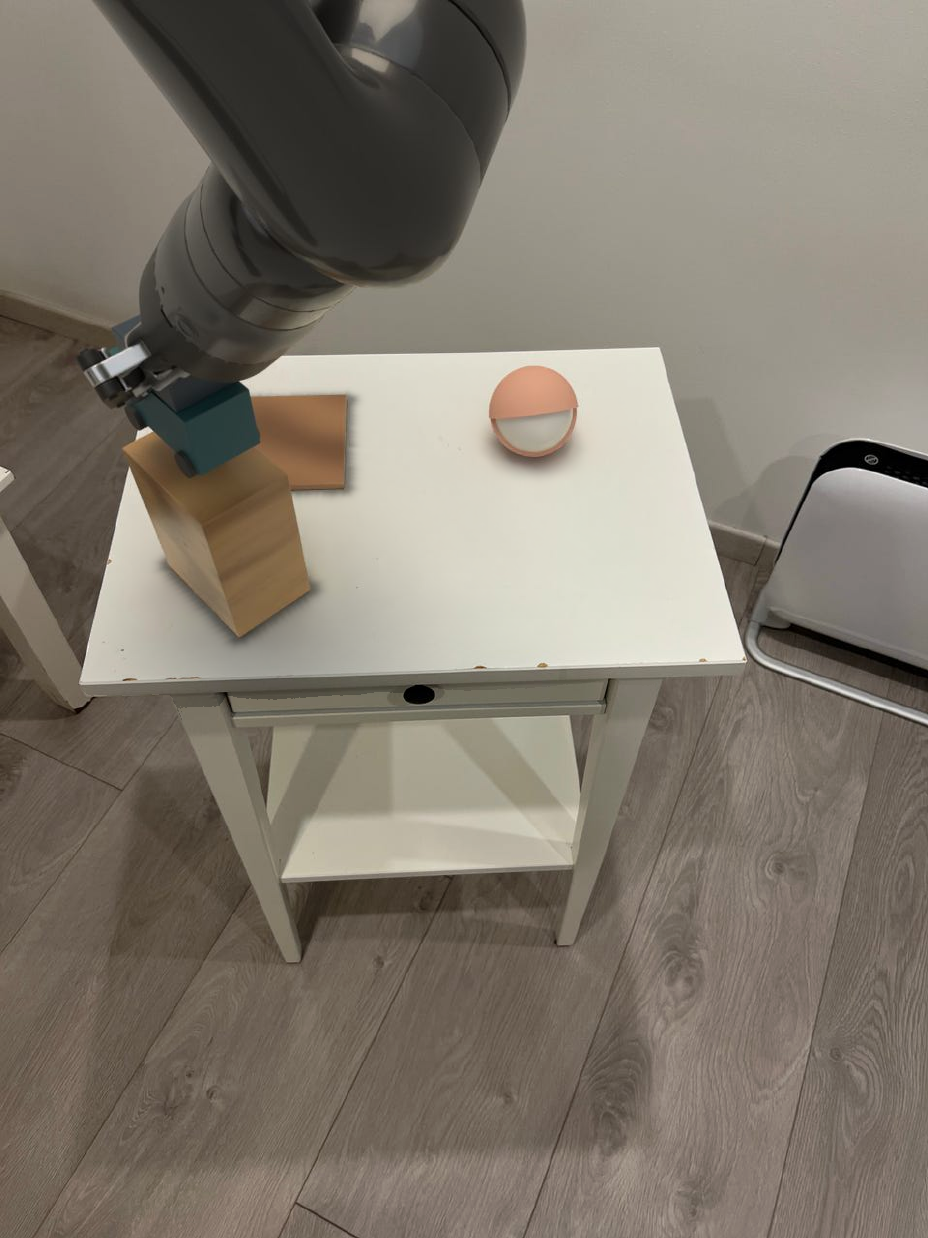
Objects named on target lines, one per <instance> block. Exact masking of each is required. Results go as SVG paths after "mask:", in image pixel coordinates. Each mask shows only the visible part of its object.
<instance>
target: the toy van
mask: <svg viewBox="0 0 928 1238" xmlns="http://www.w3.org/2000/svg"><path fill="white" fill-rule="evenodd" d="M140 322H141V316H140V314H138V315H135V316H133V317H131V318H129V319H126V320H124V321H122V322H120V323H118V324H116V325H113V326H112V327H110V329H111V332H112V335H113V338H114V342H115V343H116V346H115V347H113V348H111V349H108V351H109V353H110V354H111V356H114V355H115V354H117V353H119V352H121V351H122V350H124V349H125V347H126V345H125V342H124V337H125V335H126V334H127V333H128V332H129V331H131V330H132V329H133V328H134V327H135V326H136V325H137V324H138V323H140ZM251 397H252V396H251V392H250V389H249V388H248V387H247V386H246V385H245V384H243V383H242V382H241V381H238V382H230V383H220V382H212V381H207V380H203V379H200V378H198V377H195V376H193V375H191V376H189V377H186V378H183V379H182V380H180V381H179V382H178V383H176V384H174V385H172V386H170V387H168V388H165V389H163V390H161V391H156V390H154V389H153V390H152V391H151V392H150V394H149V395H147V396H146V397H145V399H144V400H142V401H140V402H138V403H136V404H133V403H132V402H131V401H130V399H129V400H128V401H127V402H125V405H124V406H123V409H124V412H125V415H126V416H127V419H128V421H129V422H130V423H131V425H132V426H133V427H134V428H135V430H137V431H139V432H140V431H142V430H144V429H146V428H149V429H150V430H151V431H152V432H153V431H154V432H155V433H156V434H157V435H158V436H159V437H160V438H161V439H162V440H163V441H164V442H165V443H166V444H167V445H169V446H170V447H171V448H172V449H173V450H174V451H175V452H176V453H175V454H174V458H175V461H176V463H177V465H178V467H179V468H180V470H181V471H182V472H183V474H184V475H185V476H186V477H188V478H192V477H194V476H196V475H197V474H199V475H201V476H202V475H204V474H206V473H208V472H209V471H211V470H213V469H215V468H217V467H218V466H220V465H222V464H224V463H226V462H227V461H229V460H231V459H233V458H234V457H236V456H238V455H240V454H242V453H243V452H245V451H247V450H249V449H251V448H252V447H254V446H256V445H258V444H259V443H260V433H259V430H258V428H257V424H256V419H255V415H254V410H253V406H252V401H251Z"/></svg>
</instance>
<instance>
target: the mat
mask: <svg viewBox="0 0 928 1238" xmlns="http://www.w3.org/2000/svg"><path fill="white" fill-rule="evenodd" d="M251 401H252V406H253V410H254V415H255V419H256V424H257V428H258V430H259V433H260V443H259V444H258V445H256V446H255V447H256V448H257V449H259V450H260V451H261V452H262V453H263V454H264V455H265V456H267V457H268V458H269V459H270V460H271V461H272V462H274V463H275V464H276V465H277V466H278V467H279V468H281V469H282V470H283V471H284V472H285V473H286V474H287V475H288V479H289V484H290V489H291V491H297V490H298V491H299V490H300V491H301V490H335V489H345V474H346V442H347V441H346V440H347V439H346V438H347V408H348V407H347V406H348V404H347V403H348V397H347V394H312V395H311V394H310V395H309V394H307V395H270V396H269V395H264V396H263V395H261V396H251Z"/></svg>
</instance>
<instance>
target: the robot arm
mask: <svg viewBox="0 0 928 1238" xmlns="http://www.w3.org/2000/svg"><path fill="white" fill-rule="evenodd" d="M90 1H91V2H92V3H93V4H94V6H95V7H96V9H97V10H98V11H99V12H100V14H101V15H102V16H103V17H104V18H105V20H106V21H107V22H108V24H109V25H110V27H111V28H112V29H113V30H114V32H115V33H116V34H117V36H118V37H119V39H120V40H121V41H122V43H123V44H124V46H125V47H126V48H127V49H128V51H129V52H130V54H131V55H132V56H133V57H134V59H135V61H136V62H137V63H138V65H139V66H140V67H141V68H142V70H143V71H144V72H145V73H146V75H147V76H148V77H149V79H150V80H151V81H152V83H153V84H154V85H155V87H156V88H157V90H158V91H159V92H160V93H161V94H162V96H163V97H164V98H165V100H166V101H167V103H169V105H170V107H172V109H173V110H174V111H175V113H176V114H177V116H178V117H179V118H180V120H181V121H182V123H183V124H184V125H185V127H186V128H187V129H188V130H189V132H190V133H191V134H192V136H193V137H194V139H195V140H196V141H197V143H198V145H199V146H200V147H201V149H202V150H203V152H204V153H205V154H206V156H207V157H208V158H209V160H210V163H209V166H208V167H207V169H206V170H205V172H204V174H203V176H202V178H201V179H200V181H199V183H198V184H197V186H196V188H195V189H194V190H193V191H192V192H190V194H189V195H187V197H185V198H184V200H183V201H182V202H181V203H180V205H179V206H178V207H177V209H176V210H175V212H174V213H173V216H172V217H171V219H170V221H169V223H168V224H167V225H166V228H165V230H164V232H163V234H162V235H161V236H160V238H159V241H158V243H156V247H155V248H154V250H153V251H152V253H151V256H150V257H149V259H148V261H147V263H146V264H145V266H144V269H143V271H142V273H141V278H140V282H139V289H138V302H139V304H138V306H139V315H140V316H141V322H140V323H138V324H137V325H136V326H135V327H134V328H133V329H132V330H131V331H129V332H128V333H127V334H126V335H125V337H124V342H125V345H126V347H125V349H124V350H122V351H121V352H119V353H117V354H115V355H114V356H111V354H110V353H109V349H108V348H107V347H101V348H99V349H97V348H96V347H94V348H90V349H89V348H85V349H83V350H81V351H80V352H79V355H76V357H75V358H74V360H75V362H76V363H77V365H78V366H79V368H80V370H81V371H82V372H83V374H84V376H85V378H86V379H87V380H88V382H89V384H90V385H91V387H92V389H94V391H95V393H96V394H97V396H98V397H99V399H100V400H101V402H102V403H103V404H104V405H106V406H107V407H108V408H109V409H110V410H113V409H116V408H117V409H120V408H122V407H125V406H126V404H125V402H127V401H128V400H129V399H130V401H131V402H132V403H133V404H136V403H138V402H140V401H142V400H144V399H145V397H146V396H147V395H149V394H150V392H151V391H152V390H153V389H154V390H156V391H161V390H163V389H165V388H168V387H170V386H172V385H174V384H176V383H178V382H179V381H180V380H182V379H183V378H186V377H189V376H191V375H193V376H195V377H198V378H200V379H203V380H207V381H212V382H220V383H230V382H238V381H240V382H241V381H245V380H248V379H251V378H253V377H255V376H257V375H259V374H260V373H262V372H263V371H265V370H266V369H267V368H269V367H270V366H271V365H272V364H274V363H275V362H276V361H277V360H279V359H280V358H281V357H283V356H284V355H285V354H286V353H288V352H289V351H290V350H292V349H293V348H294V347H295V346H296V345H298V344H299V343H300V342H302V341H303V340H304V339H305V338H307V336H308V335H309V334H310V333H312V332H313V330H314V329H315V328H316V327H317V326H318V324H319V323H320V322H321V321H322V319H323V318H324V316H325V315H326V314H327V313H328V312H329V311H330V310H332V309H333V308H334V307H336V306H337V305H338V304H340V303H341V302H342V301H343V300H344V299H345V298H346V297H348V296H349V295H351V293H353V292H354V291H355V290H356V289H357V288H363V289H368V290H375V291H376V290H377V291H379V290H380V291H383V290H384V291H385V290H397V289H398V290H399V289H404V288H408V287H411V286H413V285H417V284H419V283H421V282H423V281H425V280H427V279H428V278H430V277H431V276H433V274H435V273H436V272H437V271H439V270H440V268H441V267H442V266H443V265H444V264H445V263H446V261H447V260H448V259H449V257H450V255H451V254H452V253H453V251H454V249H455V248H456V246H457V244H458V243H459V241H460V239H461V236H462V234H463V232H464V229H465V228H466V225H467V222H468V220H469V218H470V216H471V214H472V211H473V207H474V205H475V202H476V200H477V198H478V194H479V192H480V188H481V186H482V183H483V181H484V178H485V176H486V174H487V171H488V168H489V166H490V164H491V160H492V159H493V156H494V154H495V151H496V149H497V146H498V143H499V141H500V138H501V135H502V133H503V131H504V127H505V125H506V123H507V121H508V118H509V116H510V113H511V111H512V108H513V105H514V103H515V99H516V97H517V94H518V91H519V89H520V86H521V82H522V78H523V73H524V68H525V63H526V57H527V45H528V44H527V43H528V41H527V19H526V12H525V5H524V1H523V0H90Z"/></svg>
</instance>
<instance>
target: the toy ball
mask: <svg viewBox="0 0 928 1238" xmlns="http://www.w3.org/2000/svg"><path fill="white" fill-rule="evenodd" d="M578 402H579V401H578V398H577V395H576V392H575V390H574V389H573V386H572V385H571V383H570V382H569V381H568V380H567V378H565V377H564V376H563V375H562V374H561V373H559V372H558V371H556V370H555V369H552V368H551V367H547V366H543V365H526V366H522V367H519V368H517V369H514V370H512V371H511V372H510V373H508V374H507V375H506V376H504V377H503V378H502V379H501V380H500V382H499V383H498V384H497V385H496V387H495V388H494V390H493V393H492V395H491V397H490V402H489V407H488V418H489V419H490V424H491V427H492V430H493V433H494V435H495V436H496V438H497V440H499V442H500V443H501V444H502V445H503V446H504V447H505V448H507V449H508V450H510V451H511V452H512V453H514V454H517V455H520V456H524V457H532V458H533V457H535V458H536V457H543V456H547V455H550V454H552V453H554V452H556V451H557V450H559V449H560V448H562V447H563V445H565V443H566V442H568V440H569V439H570V437H571V435H572V434H573V431H574V429H575V426H576V423H577V418H578V409H577V408H579V403H578Z"/></svg>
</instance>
